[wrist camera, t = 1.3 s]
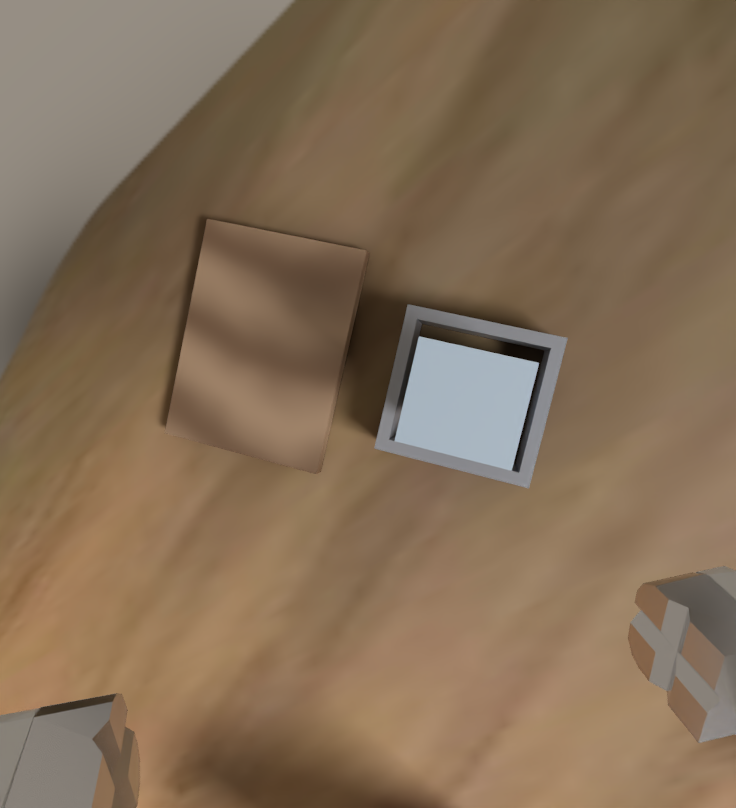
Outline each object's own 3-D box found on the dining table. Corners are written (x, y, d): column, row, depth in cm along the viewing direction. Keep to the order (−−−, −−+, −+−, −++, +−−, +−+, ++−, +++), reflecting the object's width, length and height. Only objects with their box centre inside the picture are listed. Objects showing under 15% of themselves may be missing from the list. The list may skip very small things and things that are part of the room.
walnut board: (214, 222, 43) (207, 218, 42) (369, 253, 41) (366, 250, 40) (172, 431, 44) (164, 433, 43) (320, 471, 42) (316, 474, 41)
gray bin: (413, 310, 41) (407, 304, 37) (559, 341, 39) (567, 338, 35) (382, 442, 41) (374, 448, 38) (524, 478, 40) (528, 488, 36)
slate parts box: (435, 348, 40) (414, 335, 27) (516, 367, 40) (539, 362, 26) (418, 418, 41) (390, 440, 27) (498, 437, 40) (511, 470, 26)
